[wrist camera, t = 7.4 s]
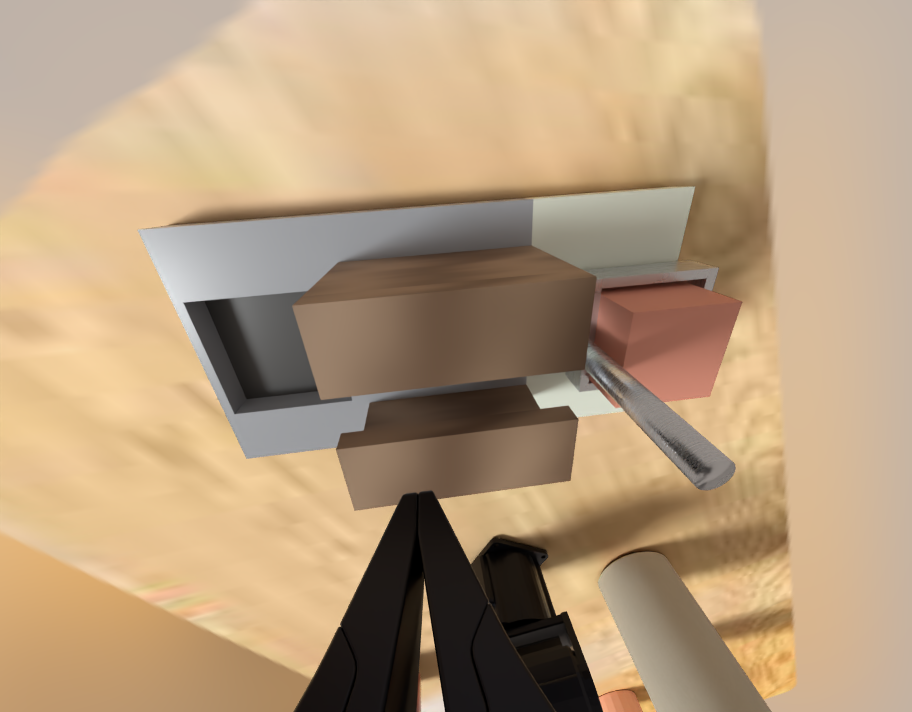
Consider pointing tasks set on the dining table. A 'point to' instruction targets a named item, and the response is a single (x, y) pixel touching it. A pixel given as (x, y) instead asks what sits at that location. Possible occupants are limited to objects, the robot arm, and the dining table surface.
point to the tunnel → (449, 367)
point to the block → (666, 336)
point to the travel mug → (674, 640)
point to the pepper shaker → (620, 702)
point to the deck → (364, 238)
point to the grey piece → (634, 398)
